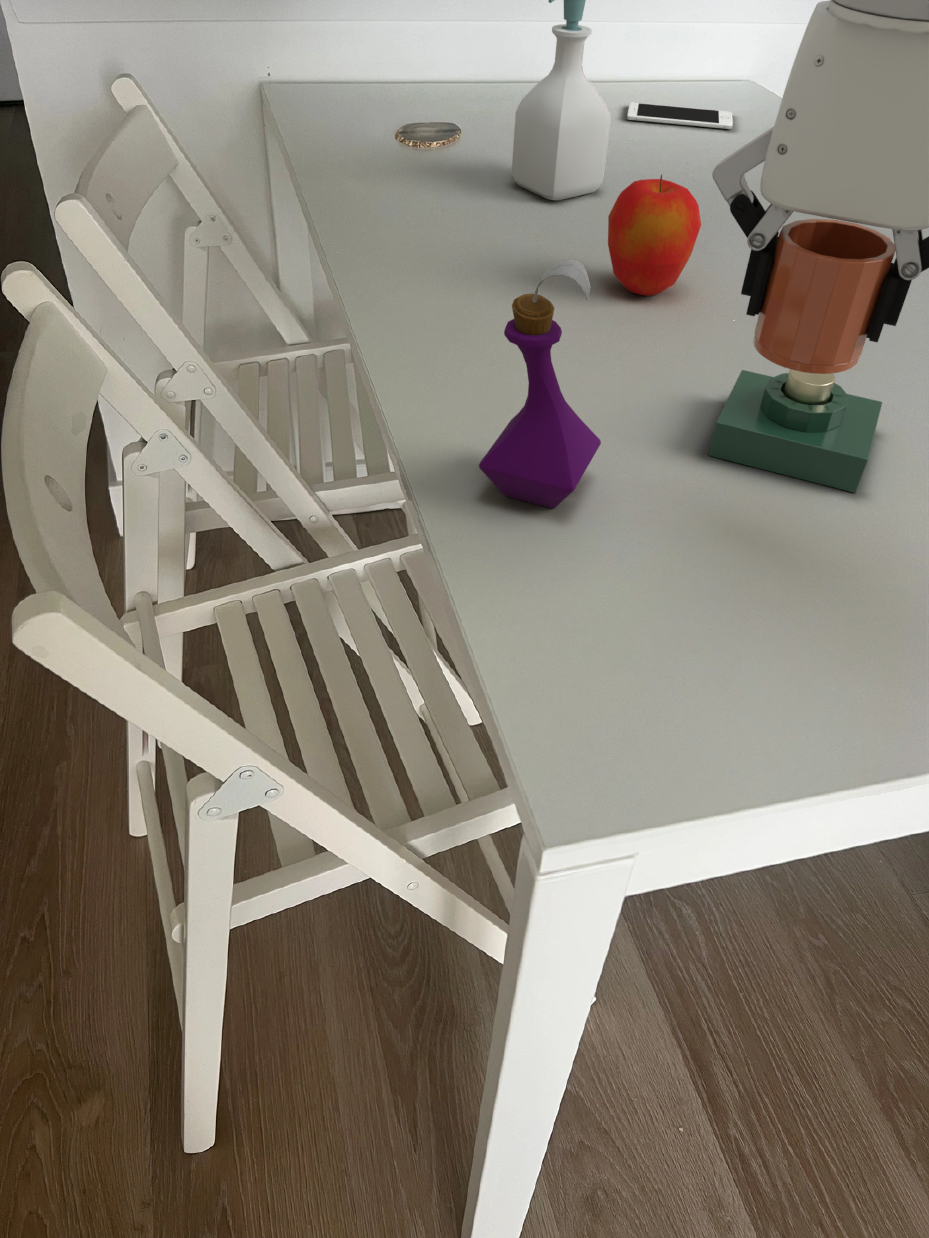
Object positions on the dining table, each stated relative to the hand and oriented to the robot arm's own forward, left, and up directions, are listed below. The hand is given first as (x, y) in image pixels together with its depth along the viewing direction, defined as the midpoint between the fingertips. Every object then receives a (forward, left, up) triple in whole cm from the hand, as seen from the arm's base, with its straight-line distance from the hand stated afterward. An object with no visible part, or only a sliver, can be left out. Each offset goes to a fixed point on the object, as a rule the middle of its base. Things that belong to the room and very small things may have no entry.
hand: (814, 317), depth 62 cm
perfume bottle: (+17, +1, -18) cm, 24 cm away
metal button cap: (0, -15, -13) cm, 20 cm away
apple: (+20, -39, -18) cm, 47 cm away
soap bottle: (+39, -64, -18) cm, 77 cm away
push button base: (0, -15, -18) cm, 23 cm away
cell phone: (+33, -104, -18) cm, 111 cm away
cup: (0, 0, -2) cm, 2 cm away
